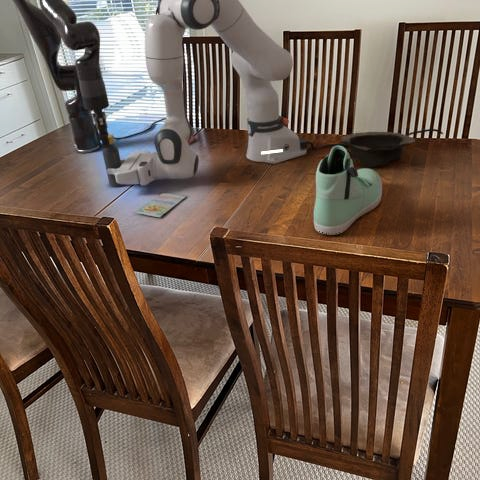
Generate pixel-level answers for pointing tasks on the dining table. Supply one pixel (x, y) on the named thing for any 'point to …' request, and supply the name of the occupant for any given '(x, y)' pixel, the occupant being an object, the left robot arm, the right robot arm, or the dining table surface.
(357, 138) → the stone bowl
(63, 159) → the dining table surface
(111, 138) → the cap
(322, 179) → the sneaker
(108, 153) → the bottle
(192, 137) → the candy cane
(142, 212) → the baking ingredient package
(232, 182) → the dining table surface
